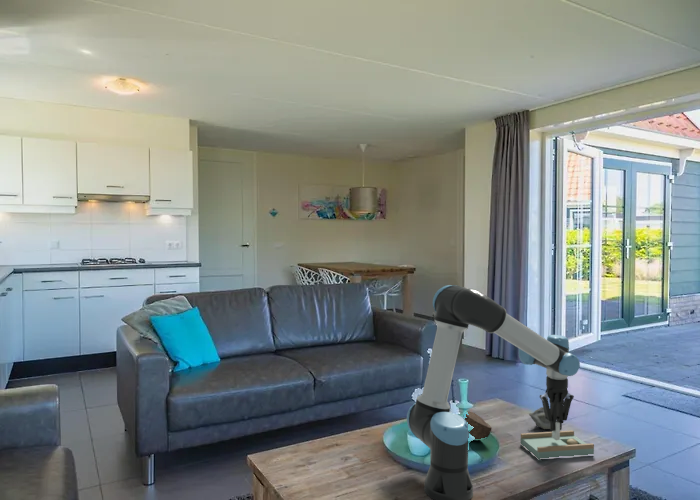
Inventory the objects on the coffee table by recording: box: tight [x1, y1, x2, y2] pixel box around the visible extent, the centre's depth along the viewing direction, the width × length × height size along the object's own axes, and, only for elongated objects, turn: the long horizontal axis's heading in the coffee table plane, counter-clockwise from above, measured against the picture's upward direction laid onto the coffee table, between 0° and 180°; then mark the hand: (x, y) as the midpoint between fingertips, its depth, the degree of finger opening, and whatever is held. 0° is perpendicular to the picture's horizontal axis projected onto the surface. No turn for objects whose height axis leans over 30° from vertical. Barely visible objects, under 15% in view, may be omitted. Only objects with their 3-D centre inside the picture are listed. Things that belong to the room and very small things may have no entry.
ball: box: [567, 439, 578, 445], centre depth 188 cm, size 4×4×4 cm
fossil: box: [528, 406, 551, 430], centre depth 209 cm, size 11×9×8 cm
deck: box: [520, 430, 595, 459], centre depth 187 cm, size 22×13×4 cm, turn 99°
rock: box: [465, 411, 493, 439], centre depth 195 cm, size 12×10×10 cm
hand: (555, 438), depth 187 cm, fingers closed
